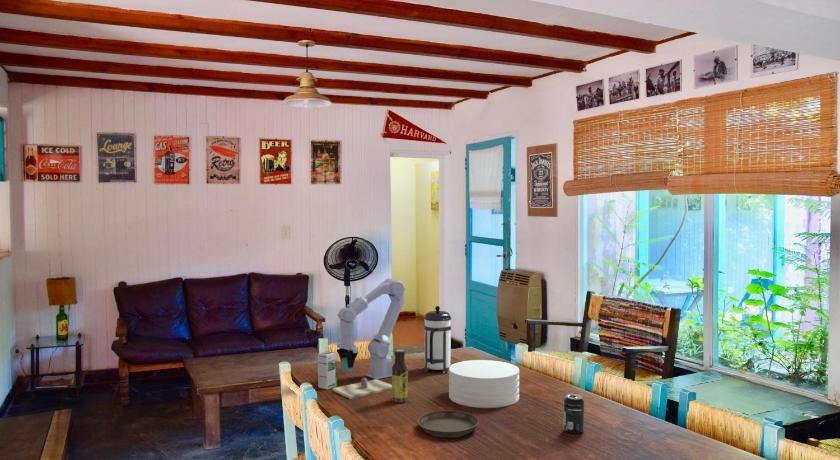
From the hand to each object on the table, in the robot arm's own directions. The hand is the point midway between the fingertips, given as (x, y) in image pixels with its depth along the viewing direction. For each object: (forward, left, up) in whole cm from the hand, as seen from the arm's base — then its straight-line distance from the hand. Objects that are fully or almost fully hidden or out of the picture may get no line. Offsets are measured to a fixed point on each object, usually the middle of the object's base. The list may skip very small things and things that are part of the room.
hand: (347, 366), depth 271 cm
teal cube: (0, 0, -1) cm, 1 cm away
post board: (+1, +15, -7) cm, 16 cm away
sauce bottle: (-2, +36, -7) cm, 37 cm away
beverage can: (-29, +99, -7) cm, 103 cm away
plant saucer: (+3, +71, -7) cm, 71 cm away
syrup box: (+11, +2, -7) cm, 13 cm away
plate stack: (-32, +52, -7) cm, 62 cm away
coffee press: (-42, +11, -7) cm, 44 cm away
